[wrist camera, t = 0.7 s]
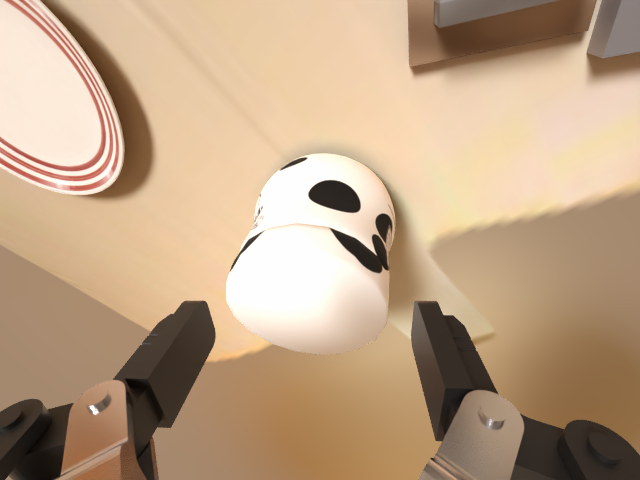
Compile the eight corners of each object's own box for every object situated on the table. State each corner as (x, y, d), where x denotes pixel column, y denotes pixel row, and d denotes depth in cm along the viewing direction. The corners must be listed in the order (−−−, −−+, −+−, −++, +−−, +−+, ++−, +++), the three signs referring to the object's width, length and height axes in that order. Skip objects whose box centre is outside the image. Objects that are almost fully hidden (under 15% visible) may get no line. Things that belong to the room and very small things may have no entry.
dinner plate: (54, 202, 49) (37, 214, 47) (-156, 4, 34) (-199, 6, 31) (181, 157, 40) (168, 169, 38) (-26, -145, 24) (-73, -160, 22)
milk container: (242, 191, 42) (177, 291, 28) (338, 111, 33) (310, 203, 19) (322, 265, 49) (301, 372, 36) (418, 216, 40) (438, 335, 27)
